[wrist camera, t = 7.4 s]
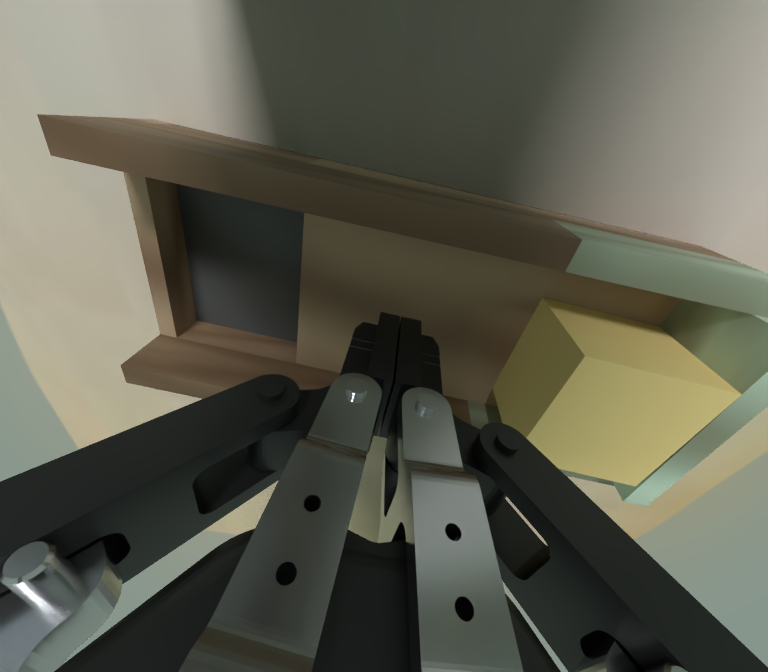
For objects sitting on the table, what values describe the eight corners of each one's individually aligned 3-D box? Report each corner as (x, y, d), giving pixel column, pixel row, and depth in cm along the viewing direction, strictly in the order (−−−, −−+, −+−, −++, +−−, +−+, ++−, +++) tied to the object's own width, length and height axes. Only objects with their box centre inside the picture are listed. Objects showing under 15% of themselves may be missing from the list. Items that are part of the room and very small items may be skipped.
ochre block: (542, 297, 13) (585, 355, 10) (659, 326, 13) (741, 394, 10) (492, 387, 16) (511, 457, 12) (590, 411, 16) (635, 486, 12)
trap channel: (152, 119, 13) (-27, 111, 8) (700, 246, 13) (874, 318, 8) (188, 329, 18) (98, 406, 13) (574, 413, 19) (631, 518, 14)
